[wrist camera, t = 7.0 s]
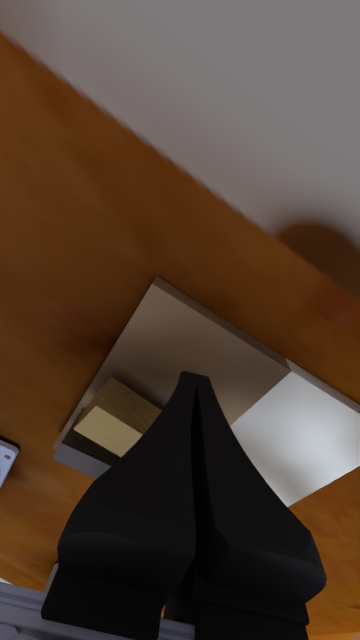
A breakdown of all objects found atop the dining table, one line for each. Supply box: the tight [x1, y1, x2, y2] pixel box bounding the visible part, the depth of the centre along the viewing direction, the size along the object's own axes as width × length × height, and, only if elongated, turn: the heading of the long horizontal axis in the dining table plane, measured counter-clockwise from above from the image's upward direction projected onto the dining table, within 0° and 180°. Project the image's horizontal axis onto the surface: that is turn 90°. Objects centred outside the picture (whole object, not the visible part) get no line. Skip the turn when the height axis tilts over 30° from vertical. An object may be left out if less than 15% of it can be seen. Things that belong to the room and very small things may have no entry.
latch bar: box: [74, 376, 162, 457], centre depth 13 cm, size 9×3×3 cm, turn 50°
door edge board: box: [52, 276, 360, 507], centre depth 15 cm, size 14×16×1 cm
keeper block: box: [52, 407, 121, 479], centre depth 14 cm, size 2×4×2 cm, turn 57°
